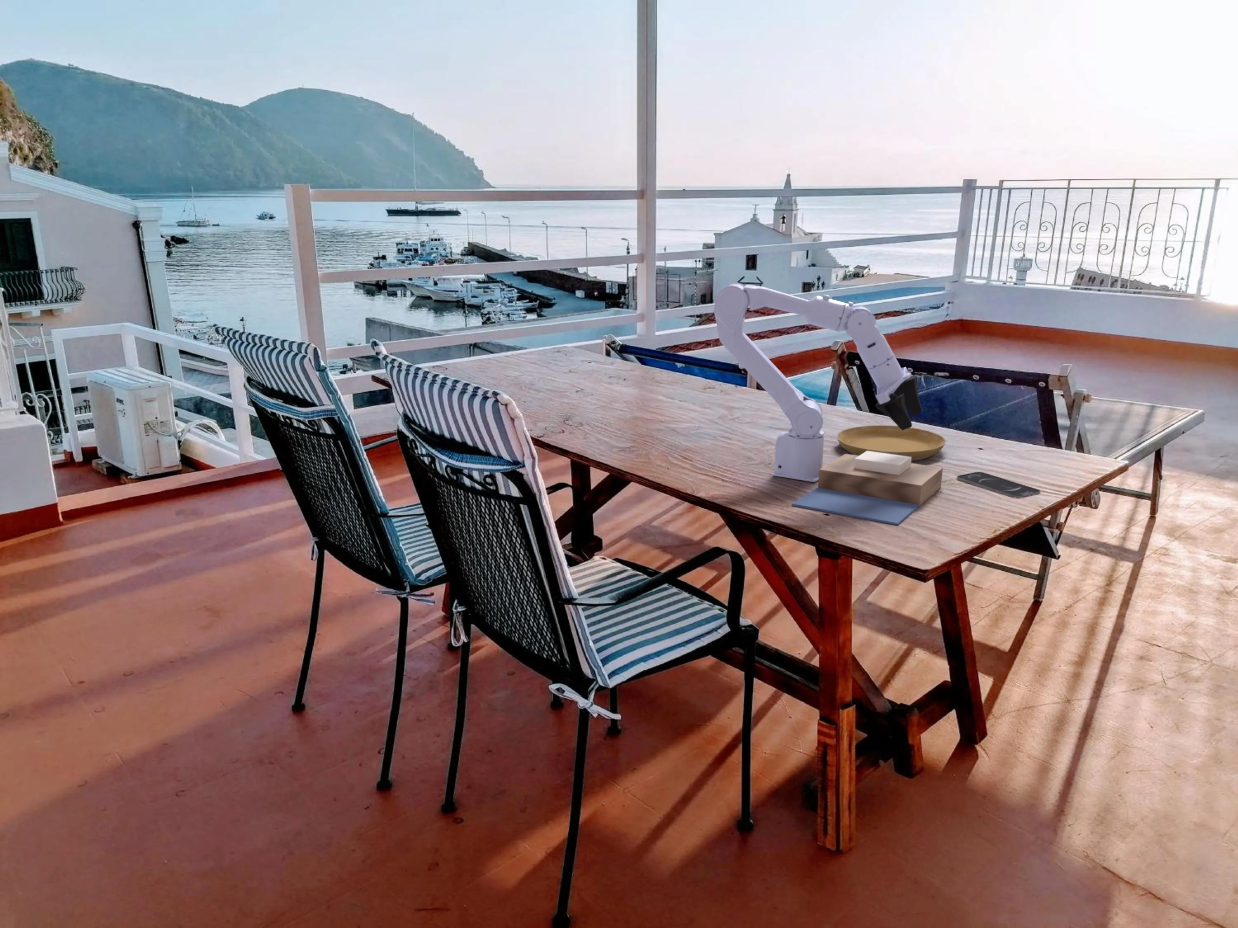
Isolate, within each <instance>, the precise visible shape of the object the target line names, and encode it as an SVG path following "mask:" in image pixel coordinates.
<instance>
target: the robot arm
mask: <svg viewBox="0 0 1238 928" xmlns="http://www.w3.org/2000/svg"><path fill="white" fill-rule="evenodd" d="M762 308H770V309H774V310H778V311H782V312H786V313H787V312H788V313H792V314H796V315H798V316H799V315H800V316H803V317H804V318H805V320H806V322H807V324H808V325H812V326H816V327H818V328H822V329H826V330H830V331H833V332H834V331H835V332H843V331H844V332H845V333H846V335H848V336H849V337H850V338H852V340H853V342H854V344H855V346H856V351H857V352H858V354H859V356H860V358H861V360H862V362H863V364H864V365H865V367H866V370H867V371H868V373H869V375H870V376H871V378H872V380H873V382H874V383H875V386H876V395H875V398H876V399H877V402H876V403H875V407H876V408H877V410H878V411H880V412H882V413H883V414H884V415H886V416H887V417H889V418H890V420H892V421H893V422H894V424H896V426H898V427H899V428H900V429H901V430H905V429H907V428H910V427H911V428H913V427H912V426H913V424H912V423H913V422H912V419H911V418H910V415H909V413H910V414H911V415H912V416H915V415H918V414H920V413H922V412H923V406H922V404H921V400H920V396H919V391H918V390H919V389H918V377H917V375H912V373H911V372H910V371H908V369H907V367H906V366H905V367H901V365H900V363H899V361H898V360H897V357H896V356H895V354H894V352H893V350H892V348H891V346H890V345H889V343H888V341H887V339H886V337H885V336H884V335H883V334H882V333H881V329H880V327H879V326H877V320H876V316H875V315H874V314H872V311H871V310H870V309H868V308H866V307H864V306H862V305H860V304H856V305H855V304H854V302H852V301H848V302H847V303H846V302H843V301H839V300H836V299H831V296H830V295H828V294H825V293H824V294H822V296H820V295H816V296H814V297H812V298H811V299H805V298H802V297H799V296H795V295H792V294H790V293H789V294H788V293H785V292H781V291H779V290H775V289H771V288H768V287H765V286H762V285H761V286H760V285H755V284H754V285H753V284H745V285H744V284H742V283H741V282H731V283H728V284H727V285H725V286H724V287H723V288H721V289H719V292H717V294H716V296H715V301H714V308H713V314H714V317H715V322H716V327H717V333H718V339H719V342H720V343H721V345H723V347H724V348H725V349H726V350H727V351H728V352H729V353H730V354H731V355H732V357H734V358H735V359H736V361H737V362H739V364H740V365H741V367H743V368H744V369H745V370H746V371H747V372H748V373H749V375H751V377H752V378H753V379H754V380H755V381H756V382H757V383H758V385H760V386H761V387H762V388H763V389H764V391H766V392H767V394H768V395H770V397H771V398H772V399H773V400H774V401H775V402H776V403H777V404H778V406H779V407H780V409H781V411H782V412H783V414H784V415H785V416H786V417H787V418H788V421H789V422H790V425H791V428H790V429H789V430H788V431H781V432H780V433H779V434H778V436H777V437H776V441H775V445H774V471H773V472H772V475H773V476H774V477H781V478H786V479H793V480H798V481H805V482H811V483H816V482H818V479H819V469H821V468H822V467H823V463H824V462H823V461H824V459H823V458H824V441H825V436H824V435H825V432H824V430H822V428H823V425H824V420H823V409H822V406H821V405H820V403H819V402H818V401H816V400H815V399H813V398H809V397H808V396H807V395H805V394H804V393H803V392H802V391H801V390H800V389H798V388H797V387H795V386H794V384H793V383H792V382H791V381H790V380H789V379H788V378H787V377H786V376H785V374H783V373H782V371H780V370H779V369H778V367H777V366H776V365H775V364H774V363H773V362H772V361H771V360H770V359H769V358H768V357H767V355H766V354H765V353H764V352H763V351H762V350H761V349H760V348H759V347H758V346H757V345H756V344H755V342H753V341H752V340H751V338H749V336H748V335H747V334H746V333H745V332H744V330H745V319H746V315H745V314H746V313H747V310H748V309H749V311H755V310H758V309H762Z"/></svg>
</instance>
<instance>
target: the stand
mask: <svg viewBox="0 0 1238 928" xmlns="http://www.w3.org/2000/svg"><path fill="white" fill-rule="evenodd" d="M856 457H858V456H857V455H854V454H851V453H850V454H848V453H845V454H842V455H841V456H839V457H838V458H836V459H834V460H832V461H831V462H829V463H828V464H826V465H824V466H822V468H821V469H819V479H818V480H817V482H818V483H817V487H818V488H824V489H830V490H835V491H841V492H847V493H853V494H859V495H865V496H871V497H877V498H883V499H888V500H894V501H900V502H906V503H912V504H918V505H919V507H920V506H921V505H923V504H924V503H925V502H926V501H927V500H929V498H931V497H932V496H933V495H934V494H935V493H936V492H937V491H938V490H939V489H941V487H942V481H943V480H942V479H943V469H944V468H943V467H940V466H932V465H925V464H920V463H919V464H918V463H913V462H911V467H910V468H908V469H907V470H906V471H904V472H903V473H902V474H900V475H895V474H889V473H882V472H876V471H869V470H863V469H856V468H854V462H855V458H856Z"/></svg>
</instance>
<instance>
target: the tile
mask: <svg viewBox="0 0 1238 928" xmlns="http://www.w3.org/2000/svg"><path fill="white" fill-rule="evenodd" d="M911 463H912V461H911V457H908V456H901V455H894V454H887V453H879V452H872V451H866V452H864V453H863V454H861V455H860V456H858V457H856V458H855V462H854V468H856V469H863V470H869V471H876V472H882V473H889V474H895V475H900V474H902V473H903V472H904V471H906V470H907V469H908V468H910V467H911Z"/></svg>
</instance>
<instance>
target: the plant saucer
mask: <svg viewBox="0 0 1238 928" xmlns="http://www.w3.org/2000/svg"><path fill="white" fill-rule="evenodd" d="M836 438H837V441H838V443H839V444H840V446H841V447H842V448H843V449H844V450H846V451H847V452H848V453H850V454H851V455H857V456H860V455H861V454H863V453H864V452H866V451H872V452H879V453H887V454H894V455H901V456H908V457H911V462H915V461H921V460H925V459H926V460H927V459H929V458H931V457H933V456H934V455H936V454H938V453H939V452H940V451H941V450H942V449H943V448H944V446H945V445H946V443H947V440H946V438H945V437H944V436H942V435H941V434H938V433H936V432H933V431H930V430H926V429H921V428H917V427H910V428H907V429H905V430H901V429H900V428H899V427H898V426H897V425H887V424H884V425H883V424H881V425H877V424H876V425H862V426H855V427H850V428H847V429H846V428H845V429H843V430H841V431H839V432H838V433H837V435H836Z"/></svg>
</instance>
